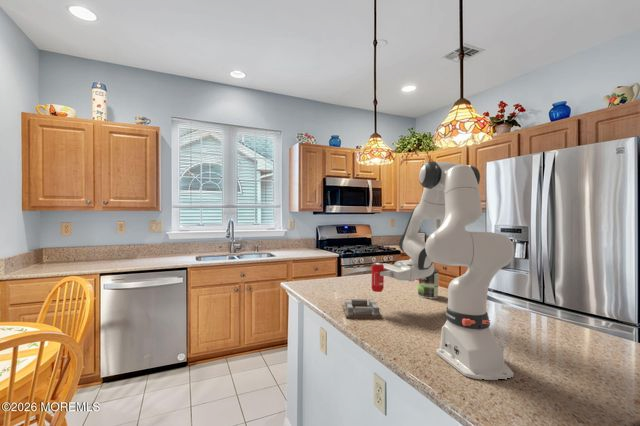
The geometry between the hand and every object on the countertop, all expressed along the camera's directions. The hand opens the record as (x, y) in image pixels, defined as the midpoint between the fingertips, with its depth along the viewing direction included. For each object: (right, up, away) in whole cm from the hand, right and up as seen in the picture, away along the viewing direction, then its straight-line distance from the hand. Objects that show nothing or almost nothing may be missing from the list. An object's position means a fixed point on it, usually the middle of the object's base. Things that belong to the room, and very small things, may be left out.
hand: (376, 272), depth 137 cm
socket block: (-7, -18, +1) cm, 19 cm away
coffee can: (+33, -18, +29) cm, 47 cm away
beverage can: (+1, -9, +1) cm, 9 cm away
